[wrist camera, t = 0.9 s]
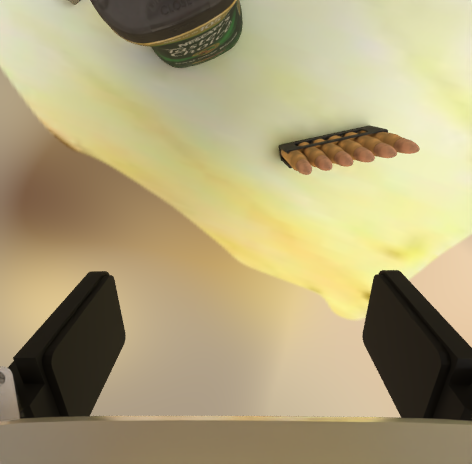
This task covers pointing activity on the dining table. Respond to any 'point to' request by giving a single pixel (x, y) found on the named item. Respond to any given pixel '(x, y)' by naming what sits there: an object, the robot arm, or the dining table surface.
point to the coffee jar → (176, 26)
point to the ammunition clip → (344, 148)
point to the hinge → (74, 1)
